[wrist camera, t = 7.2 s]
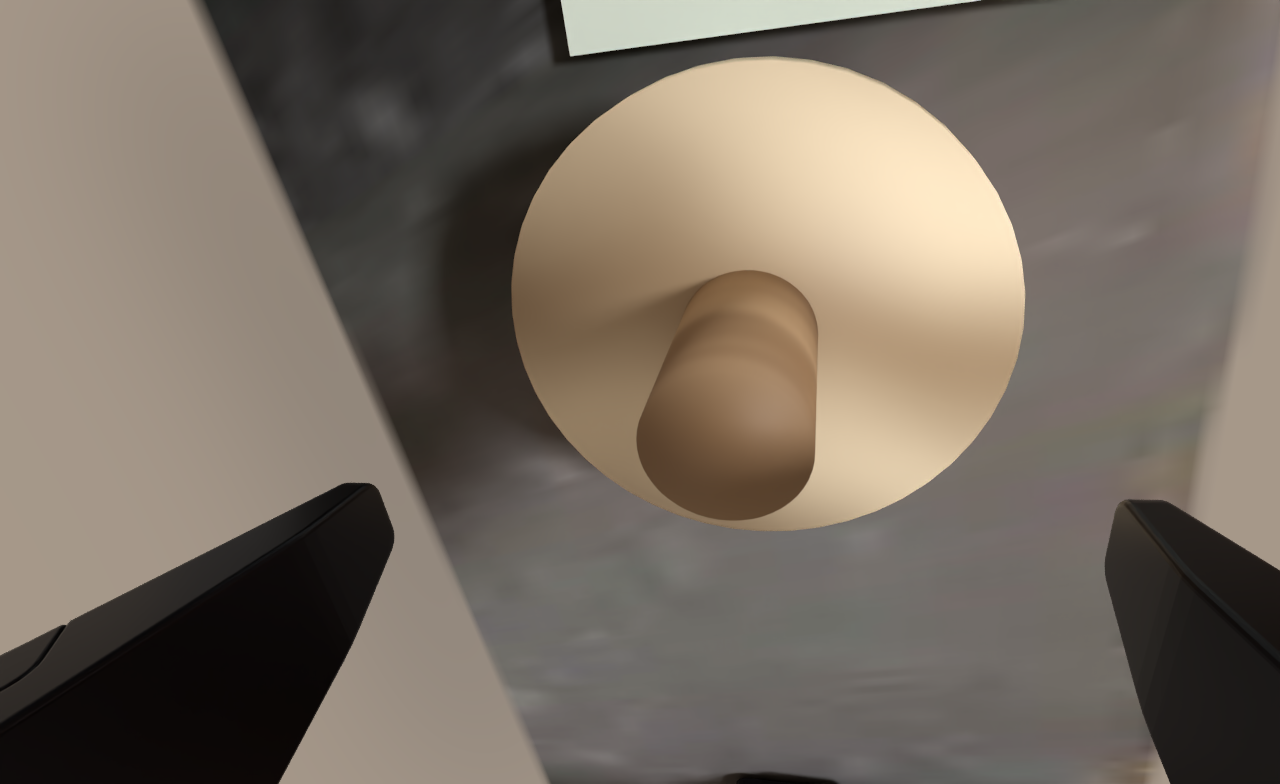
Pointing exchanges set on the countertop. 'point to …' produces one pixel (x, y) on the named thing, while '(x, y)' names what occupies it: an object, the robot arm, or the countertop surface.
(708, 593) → the countertop surface
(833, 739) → the countertop surface
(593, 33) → the mat
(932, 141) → the lid
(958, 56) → the countertop surface
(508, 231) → the countertop surface
